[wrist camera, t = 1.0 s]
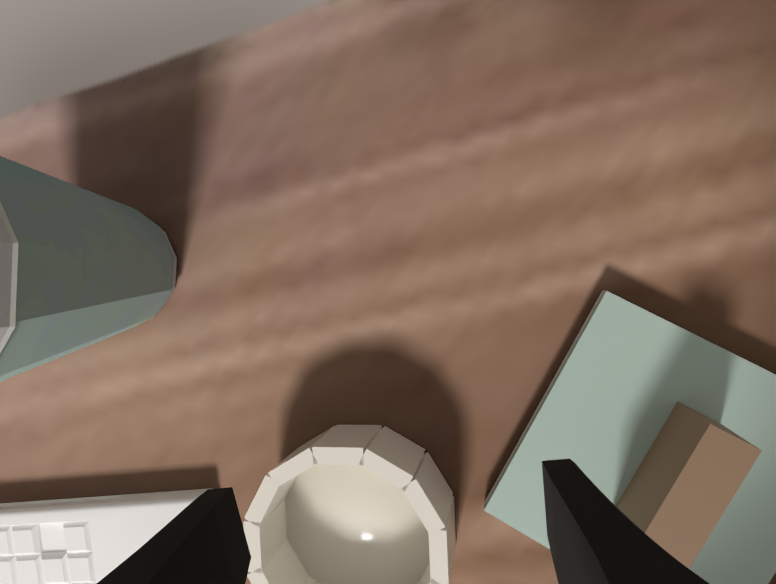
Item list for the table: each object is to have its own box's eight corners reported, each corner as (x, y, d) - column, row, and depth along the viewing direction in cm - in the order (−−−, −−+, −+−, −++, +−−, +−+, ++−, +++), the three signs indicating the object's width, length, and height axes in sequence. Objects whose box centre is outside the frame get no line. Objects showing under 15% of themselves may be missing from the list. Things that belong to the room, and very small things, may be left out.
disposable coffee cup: (198, 161, 31) (-80, 54, 16) (230, 353, 31) (-20, 423, 16) (37, 200, 33) (-339, 135, 18) (66, 379, 33) (-289, 462, 18)
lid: (862, 418, 24) (945, 450, 20) (719, 643, 25) (766, 722, 21) (604, 290, 26) (625, 293, 22) (484, 505, 27) (480, 549, 23)
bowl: (488, 485, 28) (486, 519, 24) (401, 641, 29) (386, 698, 25) (325, 391, 29) (299, 408, 26) (249, 542, 31) (212, 581, 27)
